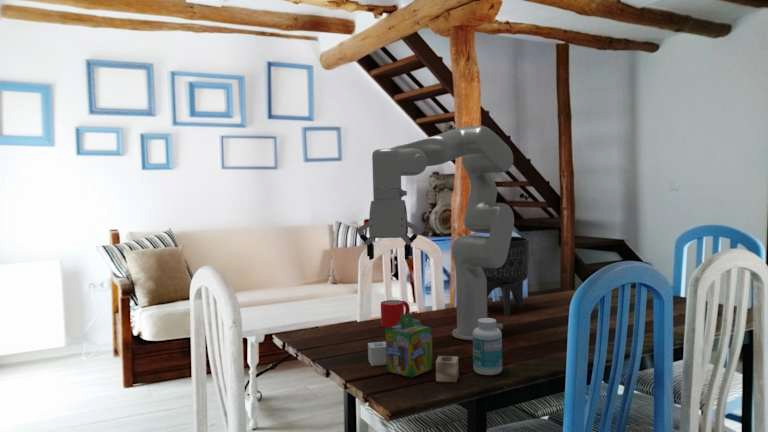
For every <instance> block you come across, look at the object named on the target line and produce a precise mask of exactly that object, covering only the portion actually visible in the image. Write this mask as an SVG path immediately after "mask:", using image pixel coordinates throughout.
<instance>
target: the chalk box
mask: <svg viewBox="0 0 768 432" xmlns="http://www.w3.org/2000/svg"><path fill="white" fill-rule="evenodd" d="M412 318H413V316H412V314H411V313H410V312H409V314H406V315H405V314H404V315H403V316H400V322H401V324H399V325H396V326H392V327H389V328H385V329H384V334H385V335H384V337H385V342H386V365H385V366H386V372H388V373H392V374H395V375H400V376H404V377H408V378H412V379H413V378H415V377H417V376H419V375H421V374H425V373H427V372H431V371H433V369H434V368H433V367H434V366H433V361H434V360H433V328H432V327H431V326H426V325H423V324H422V325H423V326H422V325H419V324H413V320H412ZM405 319H409V323H404V320H405Z"/></svg>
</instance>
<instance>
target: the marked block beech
mask: <svg viewBox="0 0 768 432" xmlns="http://www.w3.org/2000/svg"><path fill="white" fill-rule="evenodd" d="M459 375H460V374H459V356H455V355H454V356H452V355H451V356H449V355H448V356H447V355H438V356H437V359H436V361H435V381H436V382H443V383H457V381H458V378H459Z"/></svg>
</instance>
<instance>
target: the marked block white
mask: <svg viewBox="0 0 768 432" xmlns="http://www.w3.org/2000/svg"><path fill="white" fill-rule="evenodd" d="M367 356H368V362H369V363H370V366H371V367H373V366H387V365H386V341H375V342H374V341H373V342H367Z"/></svg>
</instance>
